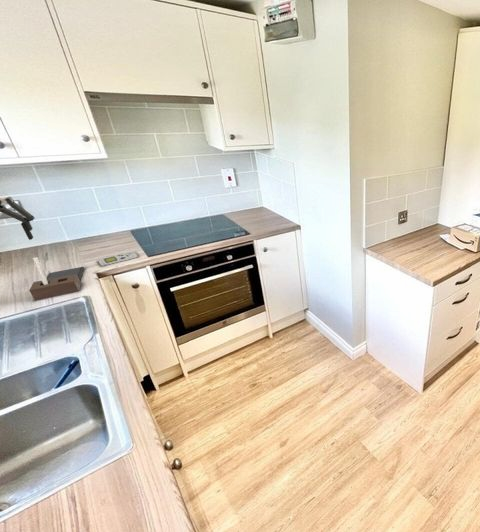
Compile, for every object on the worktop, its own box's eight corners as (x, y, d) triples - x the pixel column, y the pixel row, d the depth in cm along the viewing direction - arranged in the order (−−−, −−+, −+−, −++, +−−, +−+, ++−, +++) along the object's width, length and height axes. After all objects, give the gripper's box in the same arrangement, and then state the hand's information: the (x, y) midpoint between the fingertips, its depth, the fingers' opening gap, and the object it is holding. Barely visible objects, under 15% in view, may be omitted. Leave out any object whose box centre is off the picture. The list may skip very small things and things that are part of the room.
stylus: (47, 294, 135) (31, 258, 131) (48, 294, 136) (33, 257, 132) (52, 293, 135) (36, 257, 132) (53, 293, 137) (38, 257, 133)
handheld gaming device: (137, 255, 168) (101, 264, 158) (138, 256, 169) (101, 266, 159) (133, 250, 174) (97, 259, 163) (133, 252, 174) (98, 260, 164)
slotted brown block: (78, 291, 138) (73, 281, 136) (35, 300, 131) (29, 290, 129) (81, 283, 144) (76, 273, 142) (39, 292, 137) (33, 281, 135)
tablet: (42, 289, 139) (41, 287, 138) (50, 274, 150) (49, 272, 150) (79, 282, 145) (78, 279, 145) (84, 268, 157) (83, 266, 156)
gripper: (28, 180, 122) (53, 233, 132) (-77, 187, 109) (-41, 245, 118) (23, 184, 117) (49, 238, 126) (-88, 192, 103) (-50, 252, 113)
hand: (5, 241), depth 122 cm, fingers open, 13 cm apart
